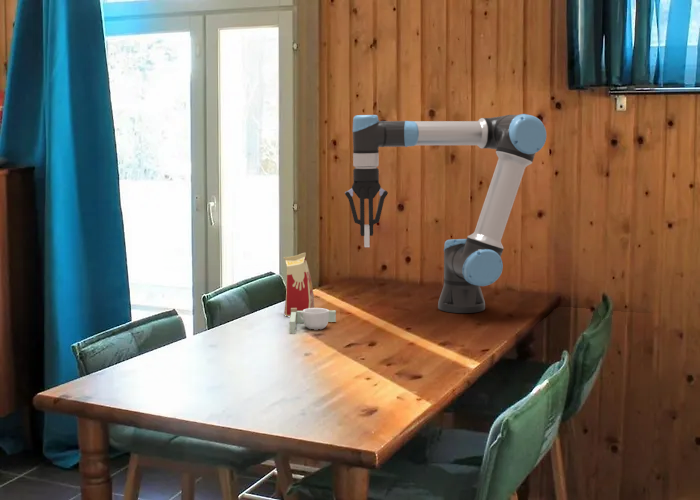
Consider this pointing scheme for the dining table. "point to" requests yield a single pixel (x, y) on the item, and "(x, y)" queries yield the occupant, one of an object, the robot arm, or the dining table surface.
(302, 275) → the milk carton
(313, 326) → the teacup
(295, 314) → the corner fence
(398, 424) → the dining table surface
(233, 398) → the dining table surface
